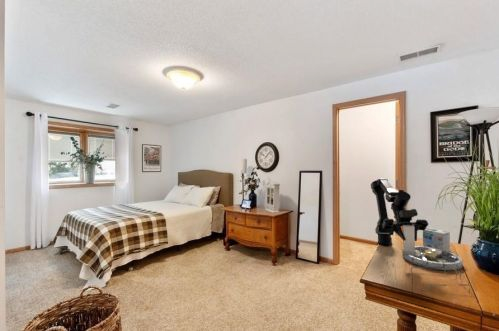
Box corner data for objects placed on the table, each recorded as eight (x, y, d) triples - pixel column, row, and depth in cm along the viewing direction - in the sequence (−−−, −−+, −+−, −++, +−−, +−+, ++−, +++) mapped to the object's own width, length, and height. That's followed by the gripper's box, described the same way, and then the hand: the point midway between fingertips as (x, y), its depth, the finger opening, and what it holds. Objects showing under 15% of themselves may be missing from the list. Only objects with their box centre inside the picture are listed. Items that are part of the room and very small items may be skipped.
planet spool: (399, 252, 113) (399, 225, 113) (405, 250, 116) (405, 223, 116) (413, 256, 108) (412, 228, 108) (418, 253, 111) (418, 226, 111)
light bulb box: (422, 247, 138) (422, 228, 138) (429, 245, 141) (428, 227, 141) (443, 253, 128) (443, 233, 128) (450, 251, 131) (450, 231, 131)
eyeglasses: (473, 293, 90) (473, 280, 90) (429, 290, 93) (429, 277, 93) (447, 274, 106) (447, 263, 106) (410, 272, 109) (410, 261, 109)
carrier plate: (393, 258, 123) (393, 250, 123) (415, 248, 136) (415, 241, 136) (450, 276, 103) (450, 266, 103) (470, 262, 115) (470, 254, 115)
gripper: (383, 202, 117) (392, 231, 107) (425, 203, 114) (439, 232, 103) (378, 215, 125) (386, 242, 114) (418, 215, 121) (430, 244, 111)
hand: (410, 240), depth 110 cm, fingers closed on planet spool, 4 cm apart
